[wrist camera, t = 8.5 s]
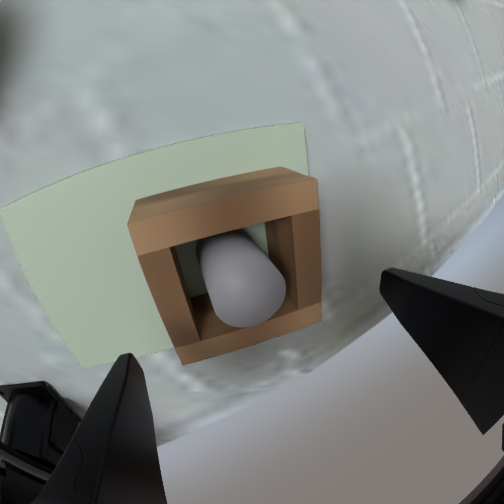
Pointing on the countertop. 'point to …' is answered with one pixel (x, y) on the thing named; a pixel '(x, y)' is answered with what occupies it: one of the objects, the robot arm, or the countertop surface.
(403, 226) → the countertop surface
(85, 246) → the keeper board
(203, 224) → the link
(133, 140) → the countertop surface
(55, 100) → the countertop surface
